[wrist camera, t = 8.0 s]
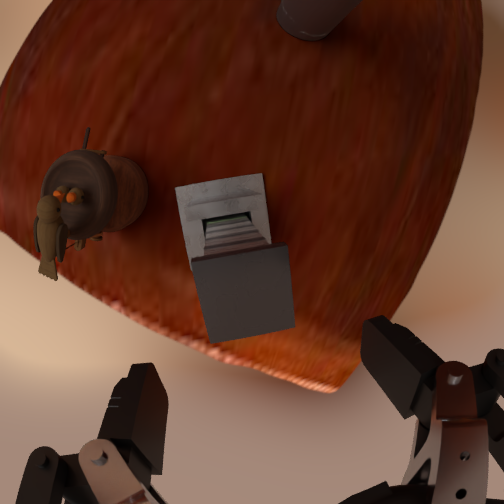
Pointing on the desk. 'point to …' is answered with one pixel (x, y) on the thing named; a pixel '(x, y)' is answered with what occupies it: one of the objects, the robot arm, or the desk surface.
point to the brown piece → (85, 201)
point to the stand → (220, 207)
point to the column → (242, 281)
